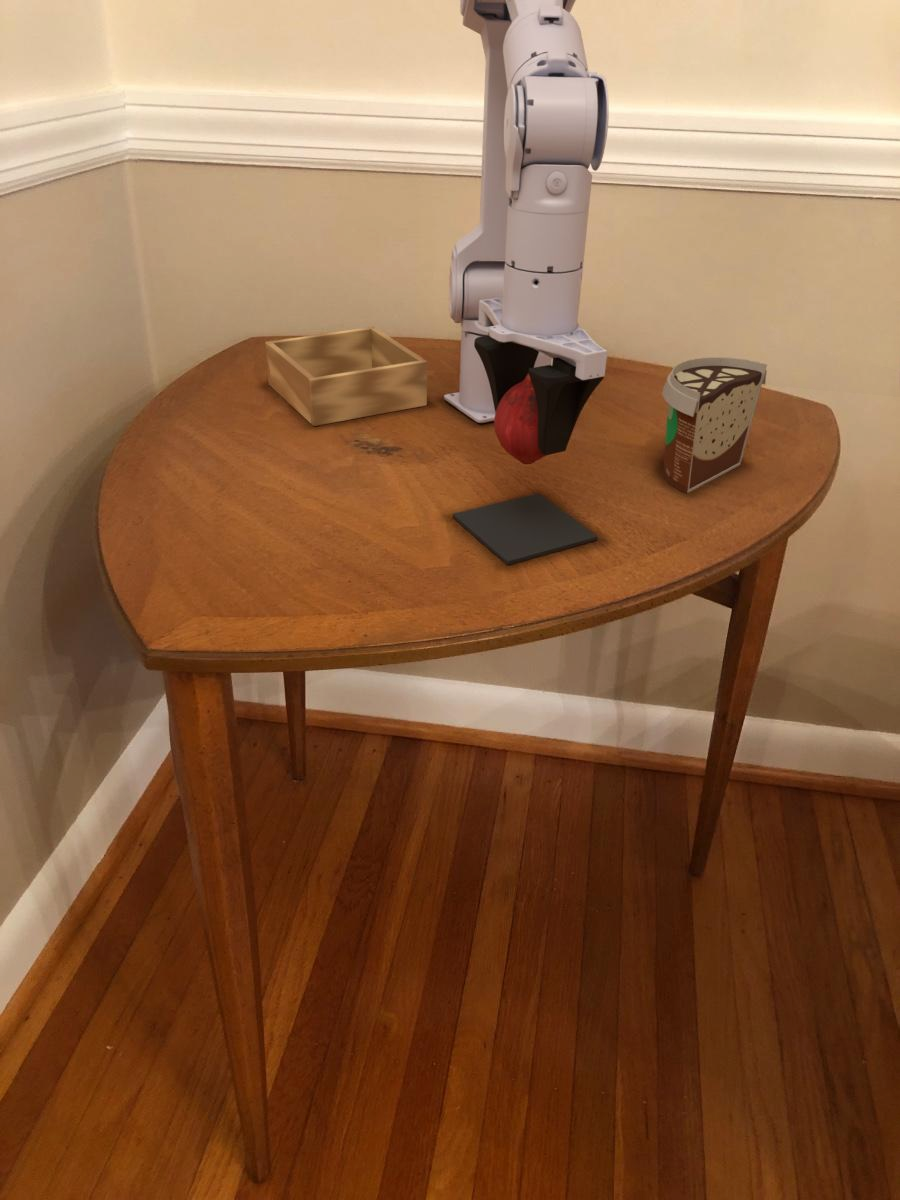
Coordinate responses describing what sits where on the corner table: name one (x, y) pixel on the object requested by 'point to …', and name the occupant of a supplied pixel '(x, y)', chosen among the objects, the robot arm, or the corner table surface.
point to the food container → (708, 417)
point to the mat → (524, 528)
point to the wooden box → (346, 375)
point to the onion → (519, 423)
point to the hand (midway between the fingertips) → (530, 436)
